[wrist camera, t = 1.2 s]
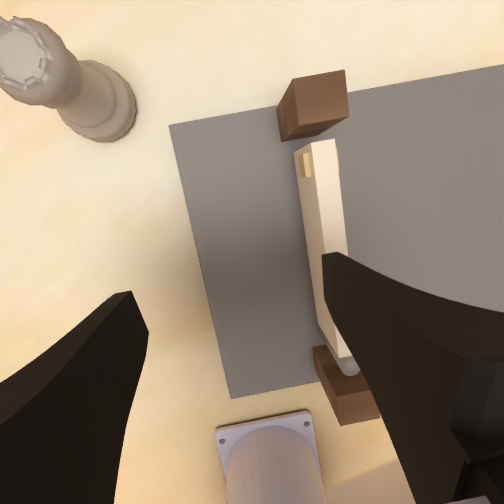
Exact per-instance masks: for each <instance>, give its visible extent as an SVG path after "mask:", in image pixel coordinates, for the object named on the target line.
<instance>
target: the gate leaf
mask: <svg viewBox="0 0 504 504" xmlns="http://www.w3.org/2000/svg"><path fill="white" fill-rule="evenodd" d="M293 154H294V161H295V168H296V175H297V182H298V189H299V196H300V203H301V210H302V217H303V224H304V230H305V237H306V244H307V251H308V258H309V265H310V272H311V279H312V286H313V293H314V300H315V307H316V314H317V321H318V325H319V328H318V330H319V333H320V335H321V336H322V338H323V340H324V342H325V343H326V345H327V347H328V348H329V350H330V352H331V354H332V355H333V357H334V359H335V360H336V362H337V364H338V365H339V367H340V369H341V371H342V372H343V373H344V374H345V375H347V376H354V375H356V374H358V373H359V371H360V368H359V366H358V365H357V363H356V361H355V359H354V358H353V356H352V354H351V352H350V350H349V349H348V347H347V345H346V343H345V342H344V340H343V338H342V336H341V335H340V333H339V331H338V329H337V327H336V326H335V324H334V322H333V320H332V318H331V315H330V313H329V310H328V308H327V305H326V303H325V300H324V291H323V275H322V258H321V254H327V253H332V252H340V253H342V254H344V255H346V256H348V250H347V241H346V233H345V224H344V215H343V206H342V198H341V189H340V180H339V171H340V170H339V161H338V153H337V148H336V145H335V138H334V139H329V140H323V141H318V142H313V143H310V144H308V145H306V146H304V147H303V148H301V149H299V150H297V151H295V152H294V153H293Z"/></svg>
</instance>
